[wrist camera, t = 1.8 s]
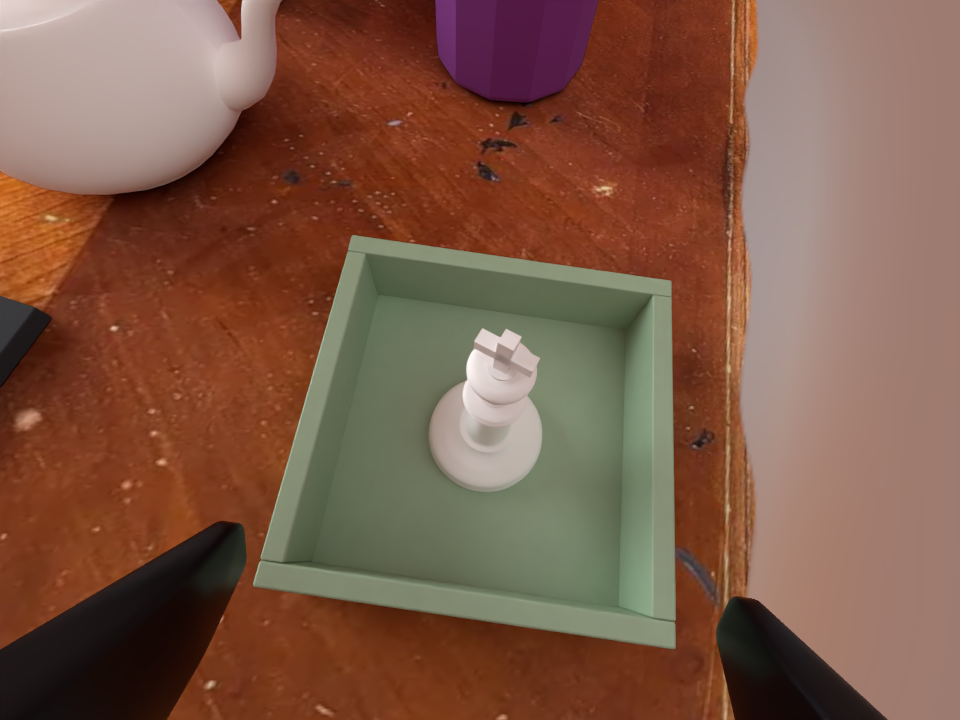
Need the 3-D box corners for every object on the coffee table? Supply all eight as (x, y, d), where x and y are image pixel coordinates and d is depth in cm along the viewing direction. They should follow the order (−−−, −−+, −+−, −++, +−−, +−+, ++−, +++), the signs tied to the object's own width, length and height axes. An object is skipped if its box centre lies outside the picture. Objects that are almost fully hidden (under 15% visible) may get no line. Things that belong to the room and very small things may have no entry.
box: (632, 630, 19) (677, 650, 15) (291, 580, 19) (251, 587, 15) (637, 323, 24) (671, 280, 20) (367, 284, 24) (351, 234, 20)
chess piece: (509, 514, 20) (557, 479, 11) (406, 455, 21) (367, 375, 11) (560, 413, 22) (639, 307, 12) (463, 361, 22) (470, 225, 13)
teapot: (-107, 208, 25) (-493, -29, 15) (9, 27, 30) (-218, -241, 20) (328, 244, 25) (243, 38, 15) (369, 59, 30) (325, -186, 20)
